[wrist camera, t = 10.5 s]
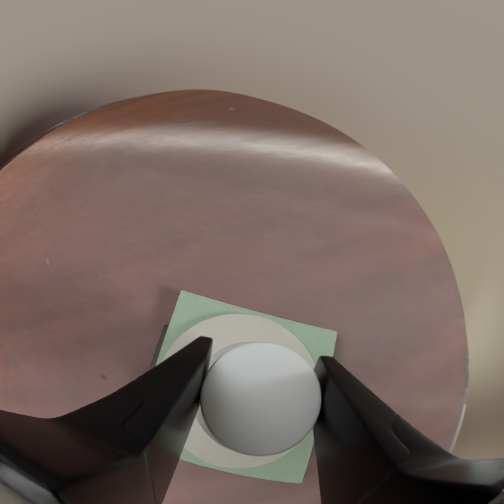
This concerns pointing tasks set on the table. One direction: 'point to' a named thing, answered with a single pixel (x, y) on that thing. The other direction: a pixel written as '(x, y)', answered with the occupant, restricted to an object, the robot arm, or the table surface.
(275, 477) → the scale
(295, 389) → the pill bottle
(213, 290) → the table surface
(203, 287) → the table surface
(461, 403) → the table surface
